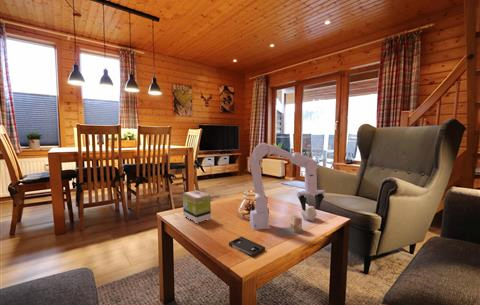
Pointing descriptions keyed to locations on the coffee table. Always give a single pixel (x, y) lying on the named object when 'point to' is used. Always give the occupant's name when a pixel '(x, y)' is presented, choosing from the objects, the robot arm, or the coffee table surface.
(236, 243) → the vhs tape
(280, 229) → the slate mat
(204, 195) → the tea box
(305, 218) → the die
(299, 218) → the maple block
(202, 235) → the coffee table surface
